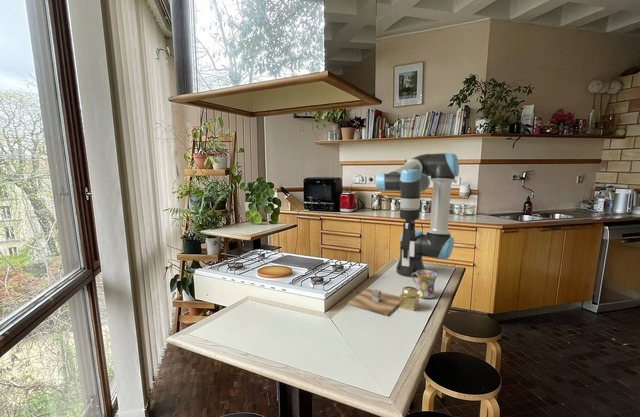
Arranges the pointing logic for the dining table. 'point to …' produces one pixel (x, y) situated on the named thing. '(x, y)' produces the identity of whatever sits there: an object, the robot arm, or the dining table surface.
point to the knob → (409, 298)
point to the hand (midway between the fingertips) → (408, 260)
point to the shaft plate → (376, 302)
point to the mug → (425, 283)
